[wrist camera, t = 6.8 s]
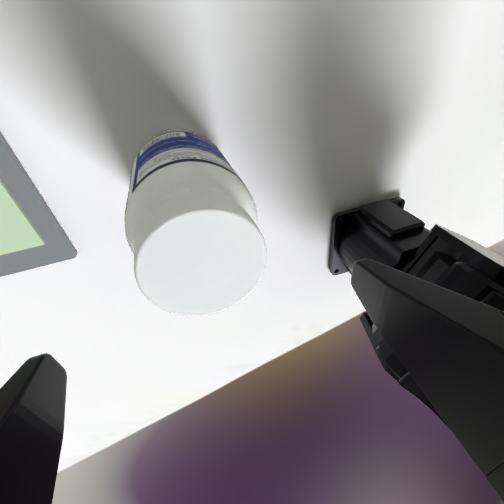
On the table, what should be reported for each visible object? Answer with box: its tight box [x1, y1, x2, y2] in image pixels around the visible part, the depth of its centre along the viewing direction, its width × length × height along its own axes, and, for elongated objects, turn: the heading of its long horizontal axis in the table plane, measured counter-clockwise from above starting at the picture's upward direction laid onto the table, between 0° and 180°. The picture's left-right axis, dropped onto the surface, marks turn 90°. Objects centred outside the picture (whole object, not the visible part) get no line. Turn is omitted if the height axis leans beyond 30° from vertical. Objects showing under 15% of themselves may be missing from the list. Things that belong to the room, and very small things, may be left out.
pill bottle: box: [125, 129, 267, 316], centre depth 14 cm, size 6×6×10 cm
